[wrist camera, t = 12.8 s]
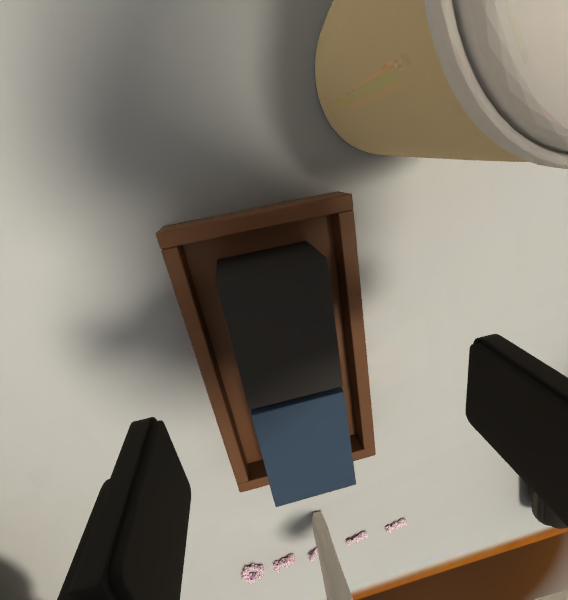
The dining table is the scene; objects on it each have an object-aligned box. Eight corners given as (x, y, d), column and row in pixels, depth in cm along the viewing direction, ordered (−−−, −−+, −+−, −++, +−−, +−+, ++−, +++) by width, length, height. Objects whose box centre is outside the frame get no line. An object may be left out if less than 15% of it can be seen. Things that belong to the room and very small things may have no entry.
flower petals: (244, 580, 29) (244, 588, 28) (238, 567, 28) (238, 575, 27) (406, 527, 30) (409, 534, 29) (404, 513, 29) (408, 520, 28)
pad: (216, 259, 18) (214, 282, 14) (306, 240, 18) (327, 257, 14) (244, 367, 20) (249, 410, 17) (322, 348, 21) (343, 386, 17)
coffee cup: (491, -49, 15) (1186, -626, 4) (459, 168, 19) (797, 161, 8) (294, -61, 14) (555, -942, 3) (298, 174, 17) (426, 177, 6)
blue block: (246, 372, 20) (250, 416, 17) (323, 353, 21) (344, 391, 17) (267, 454, 23) (275, 507, 19) (335, 436, 24) (356, 484, 20)
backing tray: (162, 226, 17) (155, 233, 15) (338, 191, 18) (352, 193, 16) (238, 467, 24) (240, 493, 22) (364, 433, 25) (375, 455, 23)
